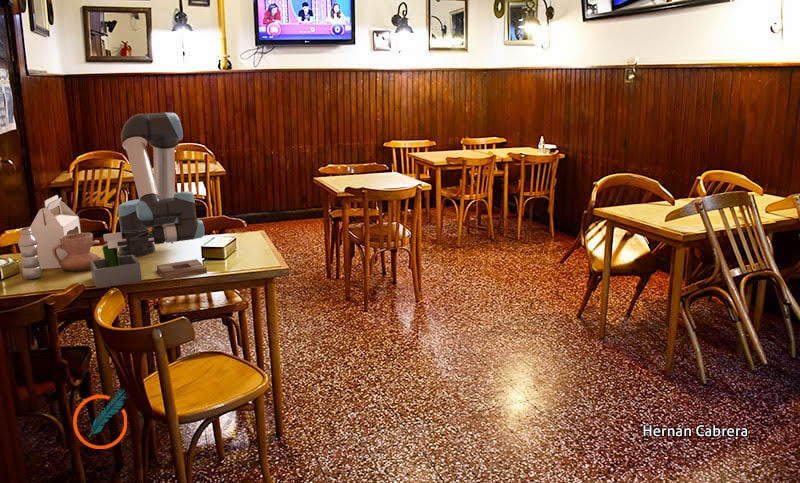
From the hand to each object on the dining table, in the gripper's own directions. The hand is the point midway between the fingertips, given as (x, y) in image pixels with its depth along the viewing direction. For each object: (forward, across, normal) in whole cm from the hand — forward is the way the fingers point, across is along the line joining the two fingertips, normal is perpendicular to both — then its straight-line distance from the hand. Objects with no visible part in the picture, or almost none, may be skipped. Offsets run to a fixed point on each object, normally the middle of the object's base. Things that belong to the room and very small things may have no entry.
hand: (105, 241), depth 252 cm
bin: (-2, 0, -16) cm, 16 cm away
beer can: (-2, 0, -13) cm, 13 cm away
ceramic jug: (+9, +26, -16) cm, 32 cm away
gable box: (+15, +44, -16) cm, 49 cm away
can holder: (-26, -3, -16) cm, 31 cm away
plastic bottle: (+26, +21, -16) cm, 37 cm away
